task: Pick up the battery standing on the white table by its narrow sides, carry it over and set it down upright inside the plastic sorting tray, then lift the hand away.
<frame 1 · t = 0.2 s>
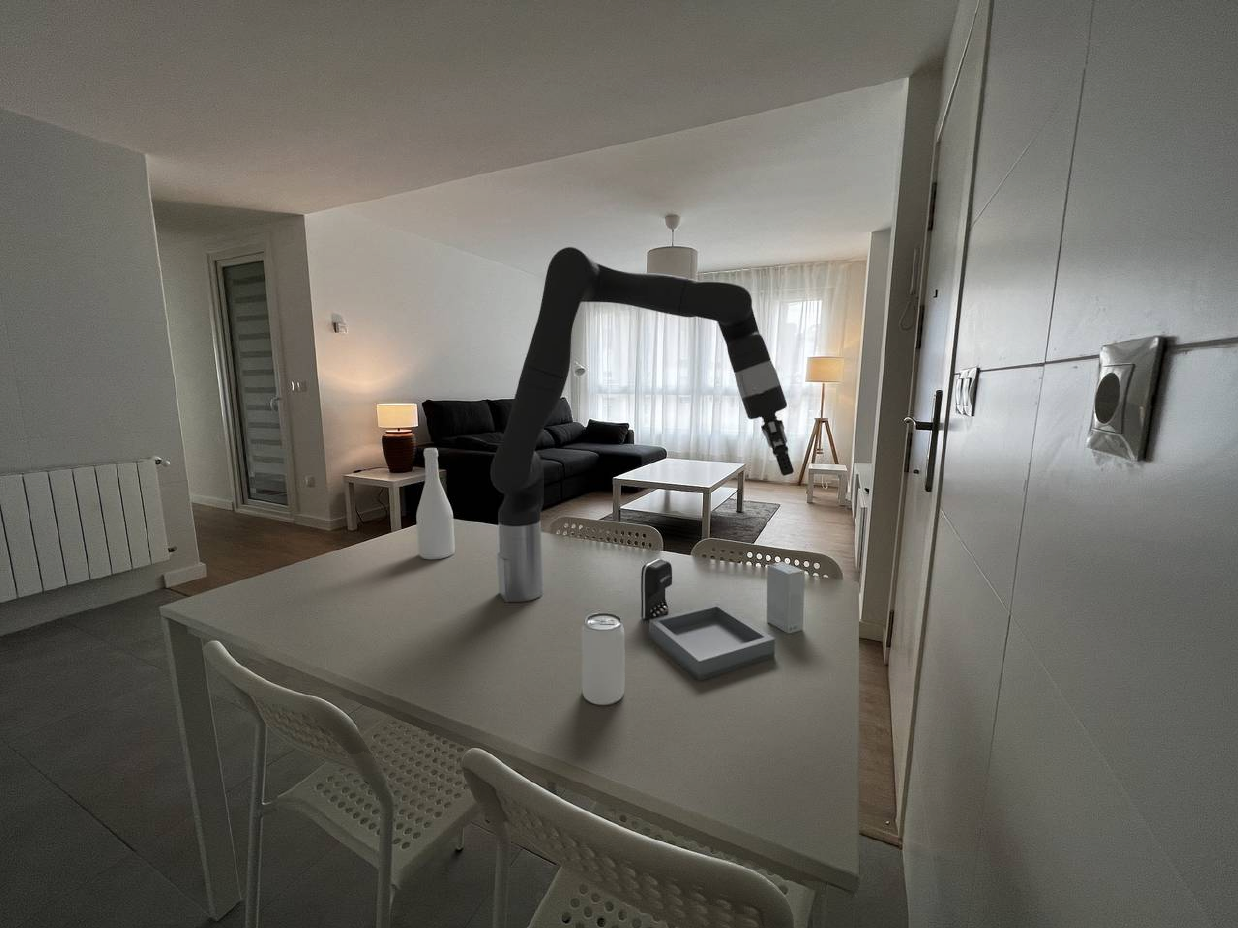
hand: (786, 470, 96), 31 cm above the table, tool tilted 20°, fingers open, 8 cm apart
sorting tray: (709, 646, 91), on the table
skincare box: (783, 626, 99), on the table
can: (603, 694, 77), on the table
wine bottle: (437, 555, 140), on the table
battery: (657, 616, 103), on the table
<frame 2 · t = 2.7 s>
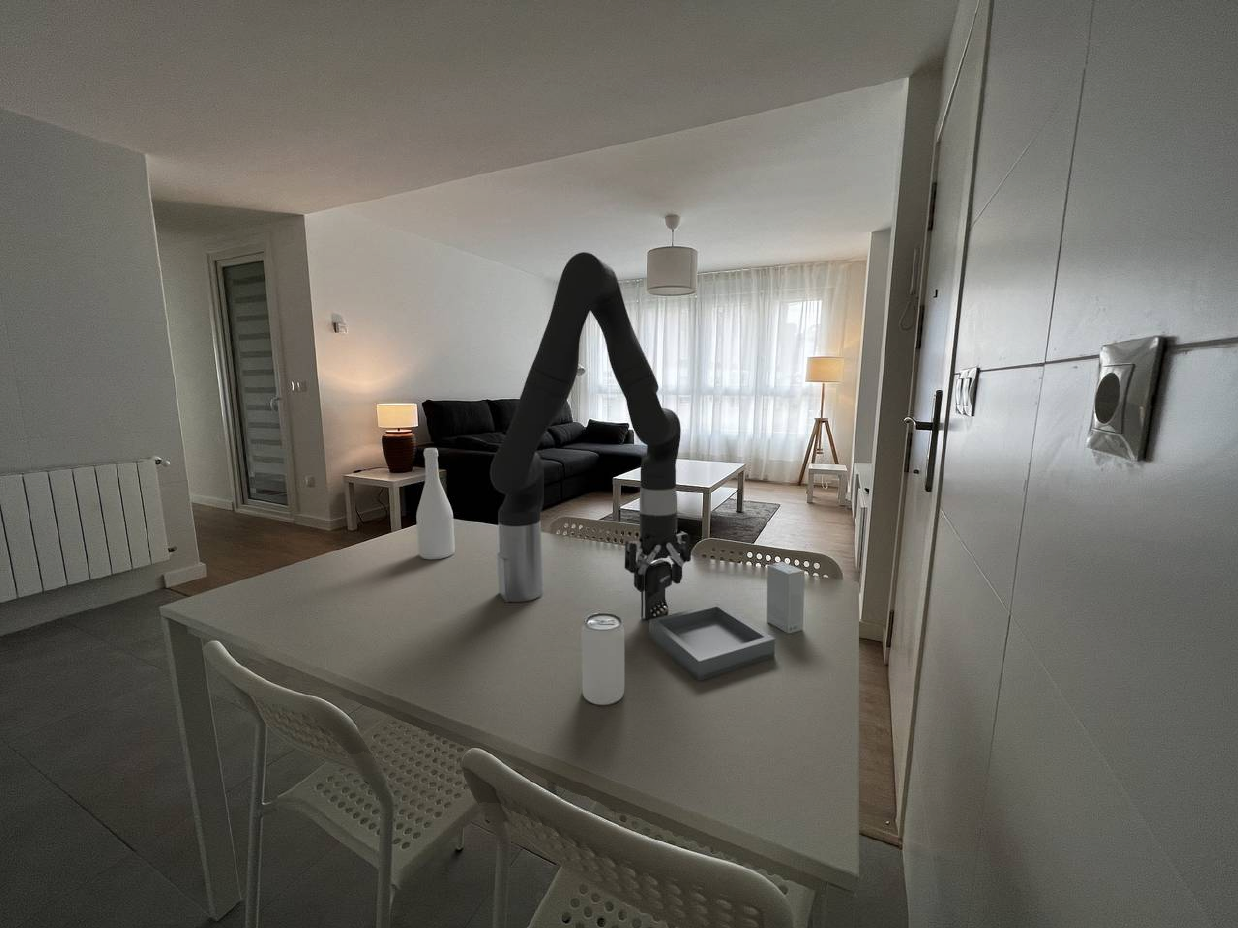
hand: (658, 586, 102), 6 cm above the table, tool pointing down, fingers open, 8 cm apart
nothing on the table moved.
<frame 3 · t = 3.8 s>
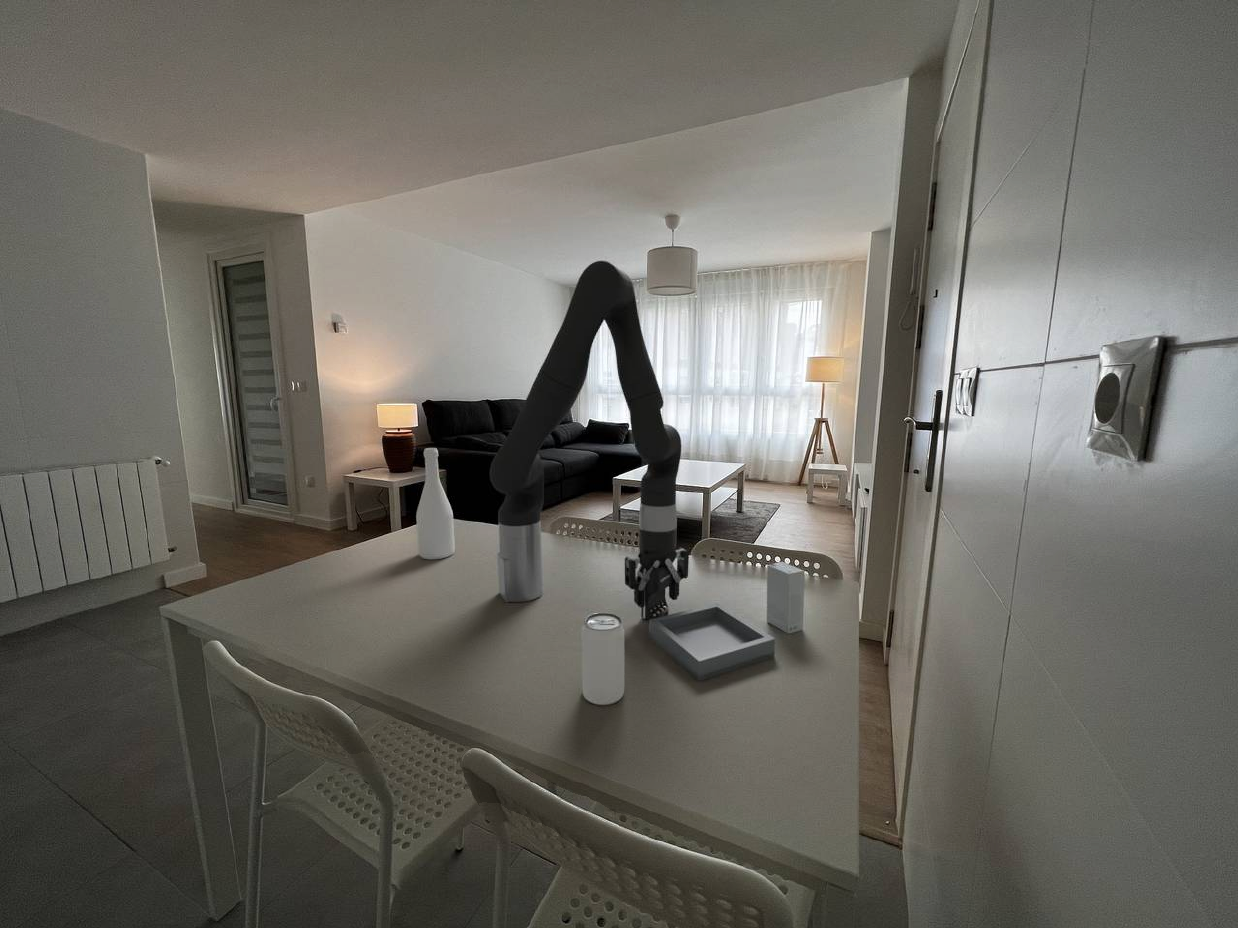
hand: (656, 602, 103), 3 cm above the table, tool pointing down, fingers closed on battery, 7 cm apart
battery: (657, 616, 103), on the table, touching gripper
everything else where it was.
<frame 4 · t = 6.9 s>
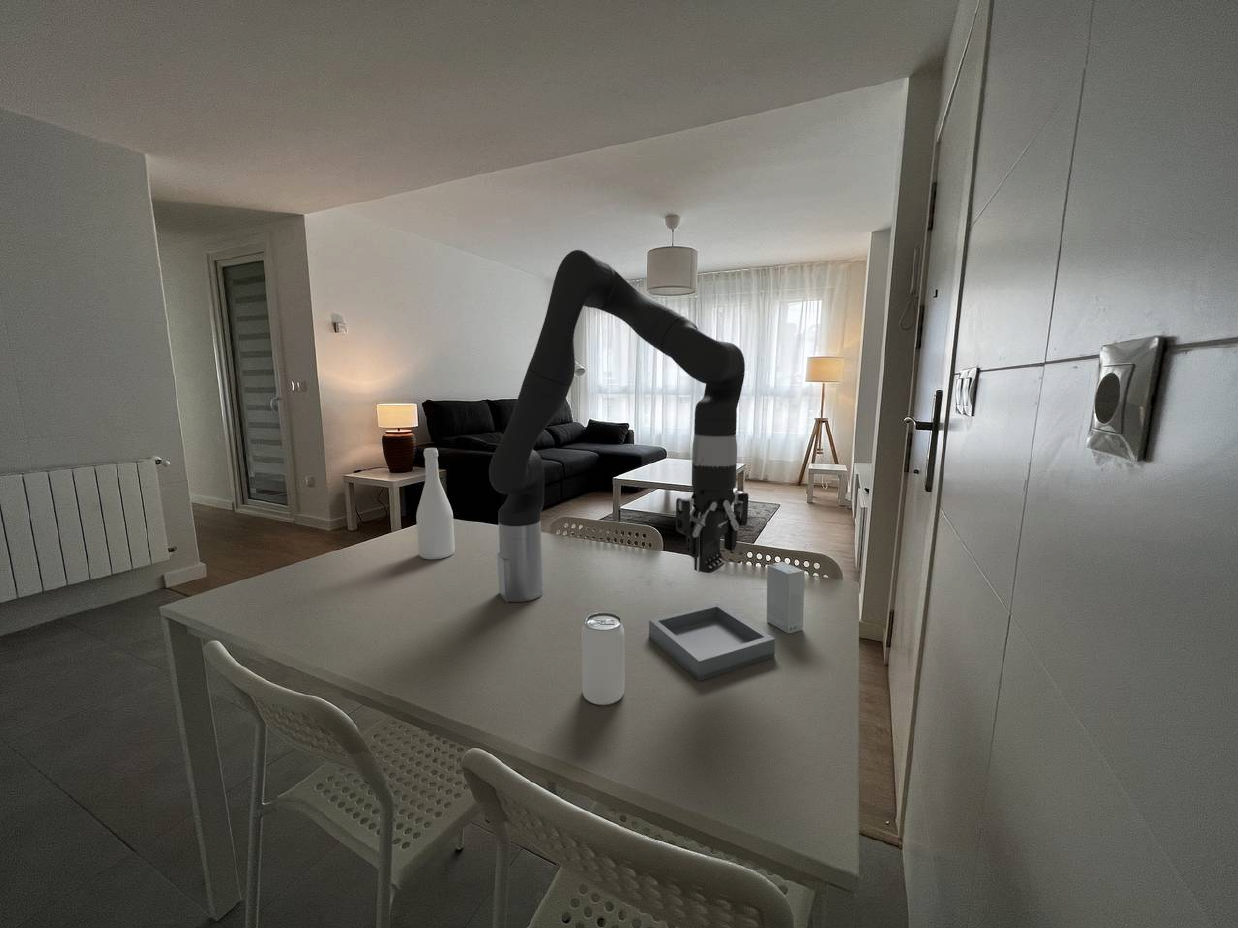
hand: (711, 552, 88), 18 cm above the table, tool pointing down, fingers closed on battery, 7 cm apart
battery: (712, 569, 89), point 15 cm above the table, touching gripper
everything else where it was.
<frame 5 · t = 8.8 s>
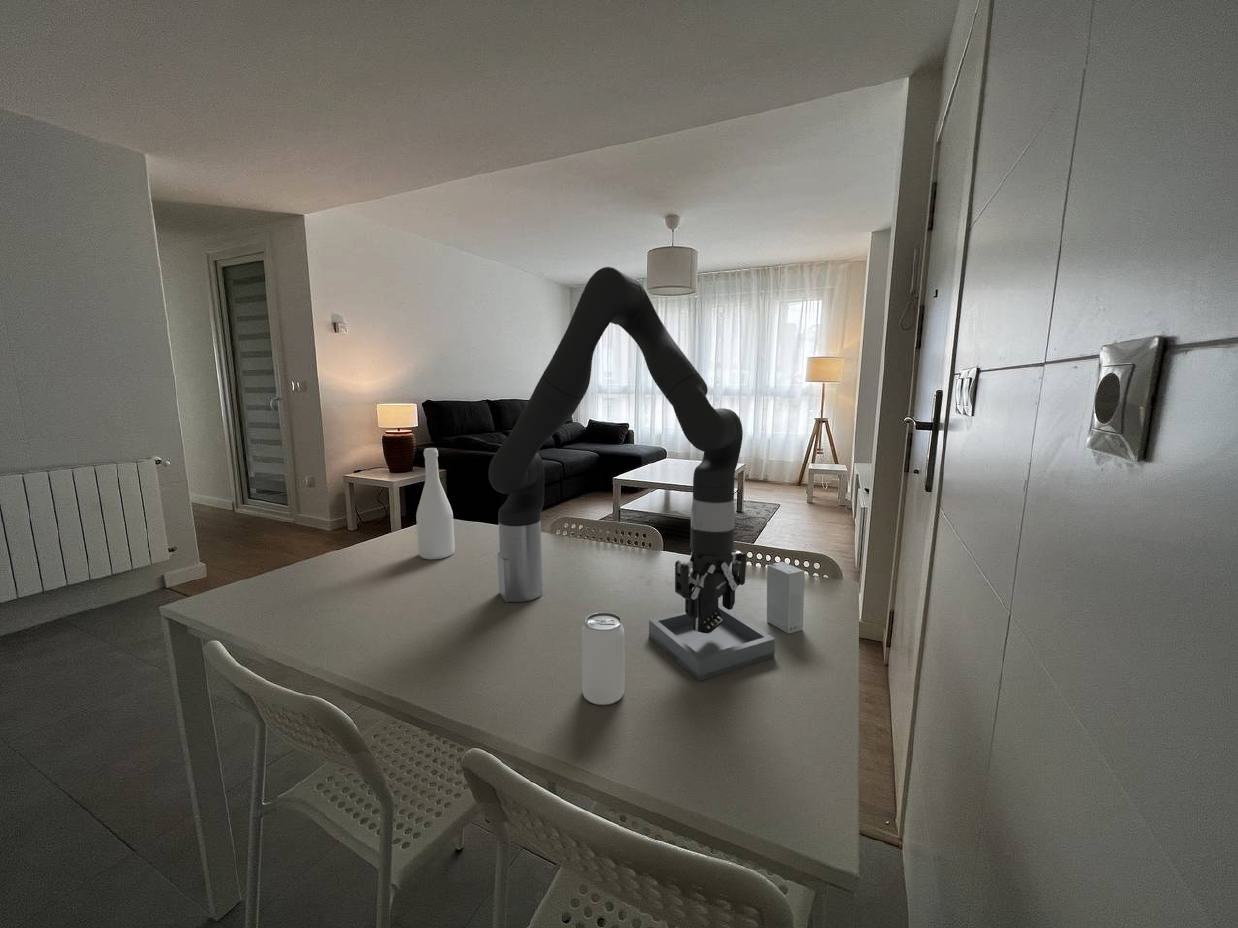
hand: (710, 612, 90), 7 cm above the table, tool pointing down, fingers closed on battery, 7 cm apart
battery: (710, 628, 90), point 4 cm above the table, touching gripper
everything else where it was.
when the fingers open (5 cm above the table, at t = 10.2 s): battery drops 1 cm, resting on sorting tray.
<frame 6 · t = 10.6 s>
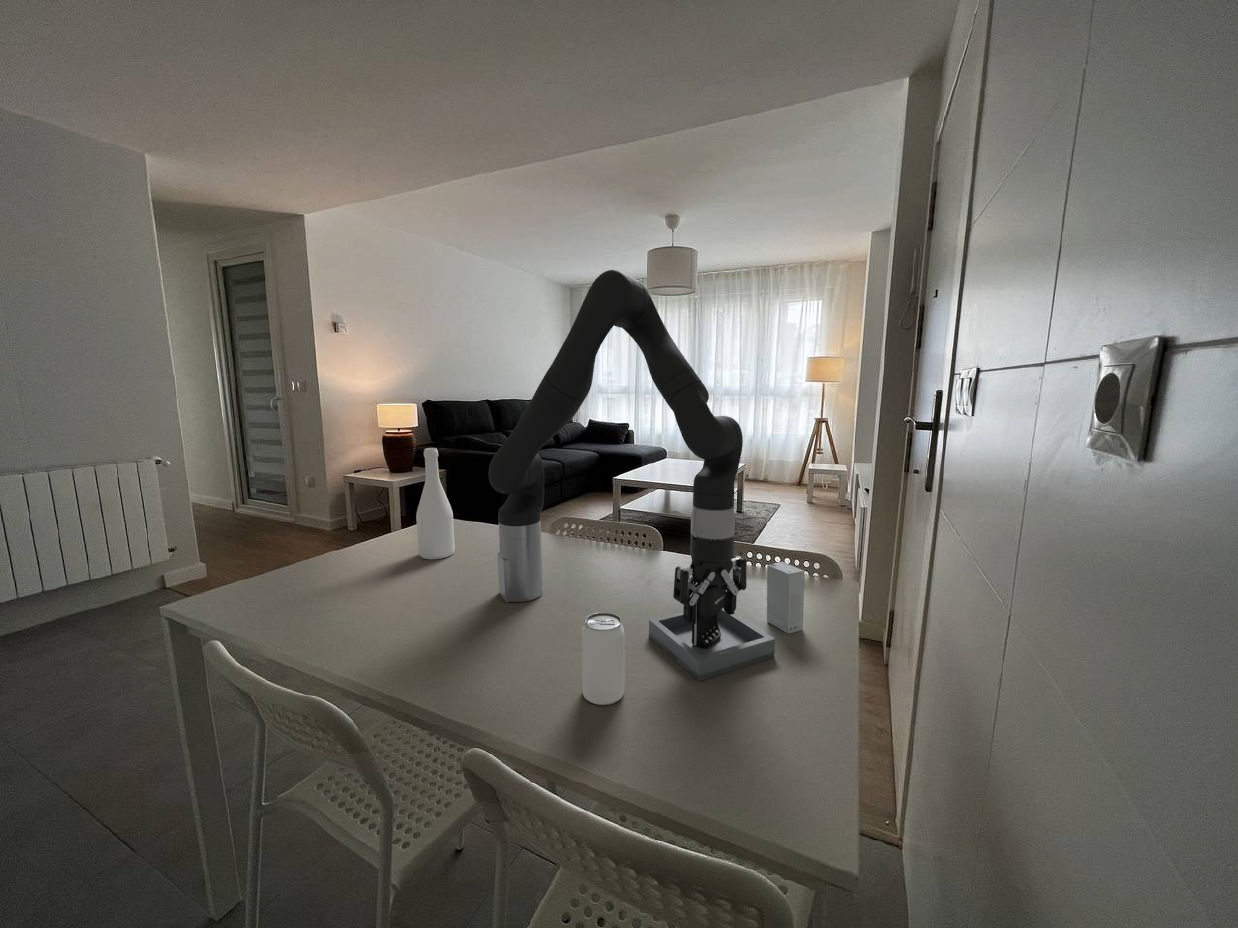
hand: (709, 617, 90), 6 cm above the table, tool pointing down, fingers open, 8 cm apart
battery: (708, 642, 91), point 1 cm above the table, touching sorting tray
everything else where it was.
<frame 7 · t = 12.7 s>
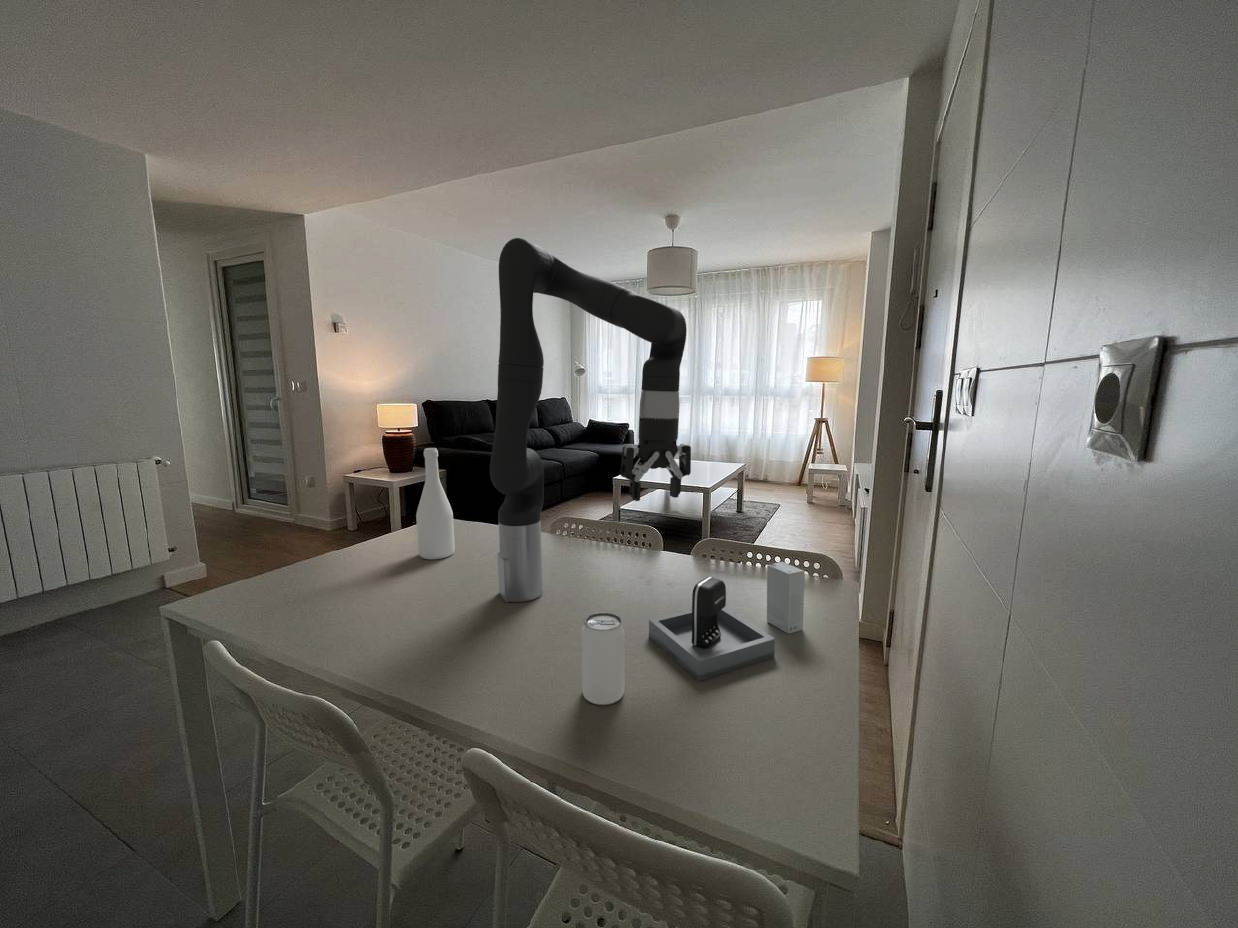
hand: (655, 498, 97), 25 cm above the table, tool pointing down, fingers open, 8 cm apart
nothing on the table moved.
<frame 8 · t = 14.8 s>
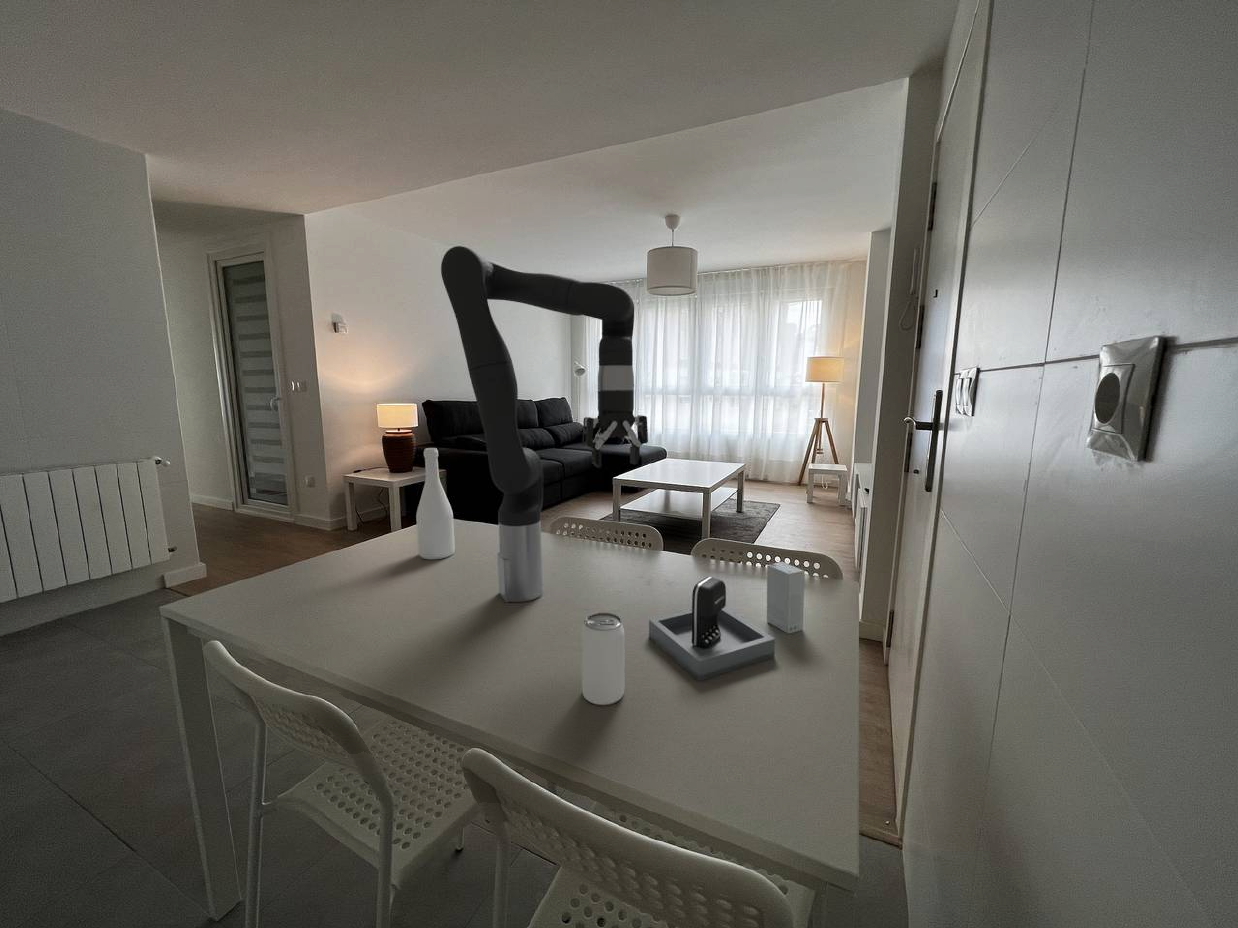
hand: (616, 465, 106), 30 cm above the table, tool pointing down, fingers open, 8 cm apart
nothing on the table moved.
at the end: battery inside the target area on the sorting tray (0.1 cm from its centre), point 0.8 cm above the sorting tray's base; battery tilted 0°; the gripper is holding nothing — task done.
